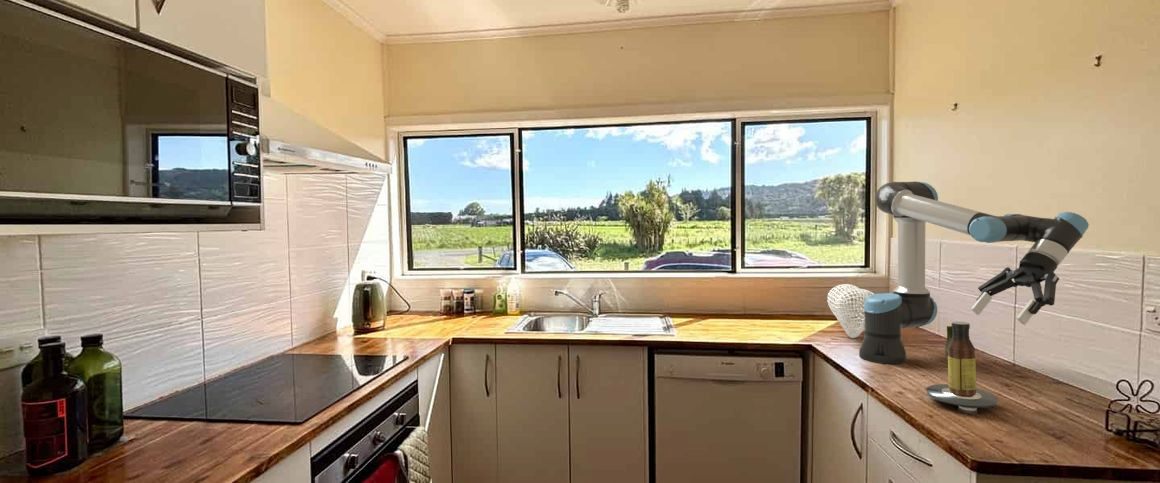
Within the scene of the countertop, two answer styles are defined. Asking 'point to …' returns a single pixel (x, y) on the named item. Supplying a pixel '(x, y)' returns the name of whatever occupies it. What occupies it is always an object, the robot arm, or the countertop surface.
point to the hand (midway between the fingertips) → (996, 316)
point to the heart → (839, 313)
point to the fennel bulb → (948, 338)
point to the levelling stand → (962, 398)
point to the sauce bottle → (961, 361)
